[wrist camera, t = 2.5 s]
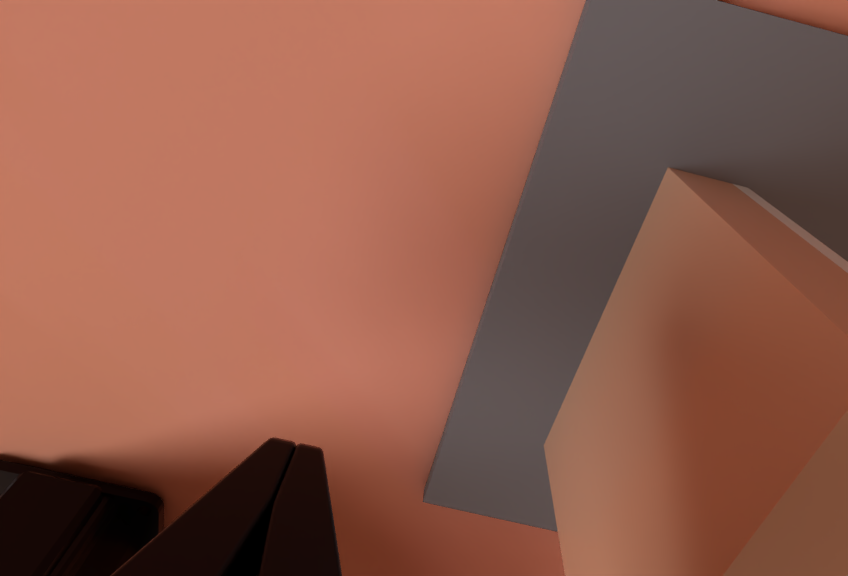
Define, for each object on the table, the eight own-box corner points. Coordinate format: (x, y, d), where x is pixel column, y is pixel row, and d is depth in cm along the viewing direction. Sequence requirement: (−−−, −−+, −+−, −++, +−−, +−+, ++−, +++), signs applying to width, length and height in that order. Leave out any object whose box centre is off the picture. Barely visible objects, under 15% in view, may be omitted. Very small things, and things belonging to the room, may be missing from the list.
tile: (605, 459, 18) (694, 768, 11) (543, 445, 18) (592, 747, 11) (748, 187, 14) (1040, 406, 7) (668, 167, 14) (879, 366, 7)
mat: (862, 587, 21) (871, 600, 20) (424, 490, 20) (423, 502, 19) (1274, 153, 13) (1302, 159, 13) (596, -31, 12) (601, -32, 12)
